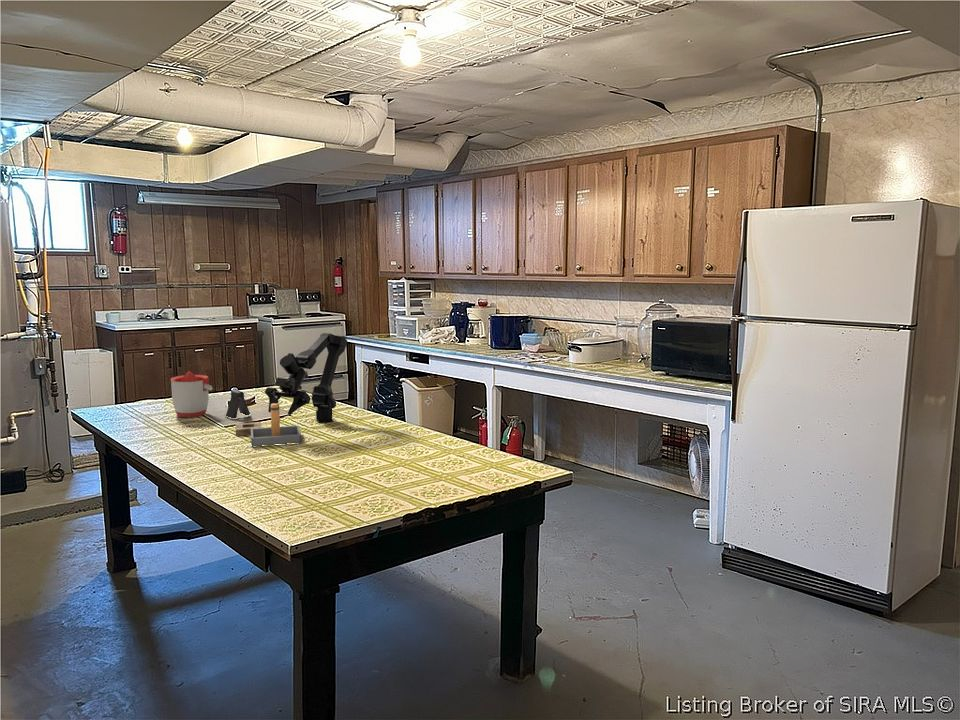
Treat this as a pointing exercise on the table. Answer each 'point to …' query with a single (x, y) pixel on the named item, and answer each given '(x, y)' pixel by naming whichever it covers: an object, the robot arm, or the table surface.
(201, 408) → the citrus juicer
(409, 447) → the table surface
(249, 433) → the socket block
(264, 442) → the tray
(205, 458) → the table surface
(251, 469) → the table surface
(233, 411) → the dark grey a-frame piece
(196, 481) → the table surface
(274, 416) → the pin
